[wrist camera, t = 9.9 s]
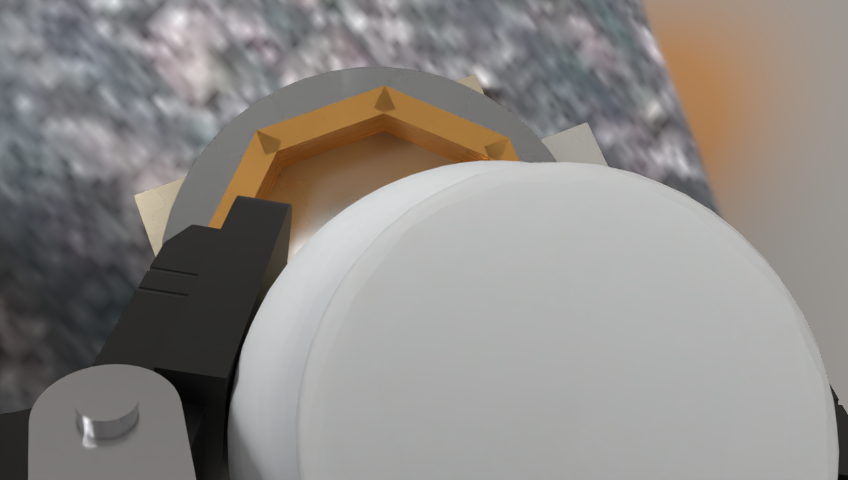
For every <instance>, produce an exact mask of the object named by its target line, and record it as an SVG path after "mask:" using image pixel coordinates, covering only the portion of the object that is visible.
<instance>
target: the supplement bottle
mask: <svg viewBox="0 0 848 480" xmlns="http://www.w3.org/2000/svg"><path fill="white" fill-rule="evenodd" d="M227 439H228V466H229V474H230V480H838V463H839V445H838V433H837V423H836V414H835V406H834V400H833V396H832V392H831V388H830V385H829V381H828V377H827V373H826V370H825V367H824V364H823V361H822V357H821V354H820V351H819V349H818V346H817V343H816V341H815V338H814V336H813V334H812V332H811V330H810V328H809V325H808V323H807V321H806V319H805V317H804V315H803V313H802V312H801V310H800V309H799V307H798V305H797V304H796V302H795V300H794V299H793V297H792V295H791V294H790V292H789V291H788V289H787V288H786V286H785V285H784V283H783V282H782V281H781V279H780V278H779V277H778V275H777V274H776V273H775V271H774V270H773V268H772V267H771V266H770V264H769V263H768V262H767V260H766V259H765V258H764V257H763V256H762V255H761V254H760V253H759V252H758V251H757V250H756V249H755V248H754V247H753V246H752V245H751V244H750V243H749V241H748V240H747V239H745V238H744V237H743V236H742V235H741V234H740V233H739V232H738V231H737V230H735V229H734V228H733V227H732V226H730V225H729V224H728V223H727V222H725V221H724V220H723V219H722V218H720V217H719V216H718V215H717V214H715V213H714V212H713V211H711V210H710V209H708V208H707V207H705V206H703V205H702V204H700V203H699V202H697V201H695V200H694V199H692V198H690V197H689V196H687V195H686V194H684V193H681V192H679V191H677V190H675V189H673V188H671V187H668V186H666V185H664V184H662V183H659V182H657V181H654V180H652V179H649V178H646V177H644V176H641V175H639V174H636V173H633V172H628V171H624V170H620V169H615V168H611V167H607V166H603V165H598V164H587V163H574V162H542V163H528V162H521V161H473V162H464V163H457V164H451V165H445V166H440V167H438V168H434V169H430V170H426V171H423V172H420V173H416V174H413V175H410V176H407V177H405V178H402V179H400V180H397V181H395V182H393V183H390V184H388V185H385V186H383V187H381V188H379V189H377V190H376V191H374V192H372V193H370V194H368V195H366V196H365V197H363V198H361V199H360V200H358V201H357V202H355V203H353V204H352V205H350V206H349V207H347V208H346V209H344V210H343V211H342V212H340V213H339V214H338V215H336V216H335V217H334V218H332V219H331V220H330V221H329V222H327V223H326V224H325V225H324V226H323V227H322V228H321V229H320V230H318V231H317V232H316V233H315V234H314V235H313V236H312V237H311V238H310V239H309V240H308V241H307V242H306V243H305V244H304V245H303V246H302V247H301V248H300V249H299V250H298V251H297V253H296V254H295V255H294V256H293V258H292V259H291V260H290V261H289V263H288V264H287V265H286V267H285V268H284V270H283V271H282V272H281V274H280V275H279V276H278V278H277V279H276V281H275V282H274V284H273V285H272V286H271V288H270V289H269V291H268V293H267V295H266V297H265V299H264V300H263V302H262V304H261V306H260V308H259V310H258V312H257V314H256V316H255V318H254V320H253V322H252V324H251V326H250V329H249V332H248V334H247V337H246V339H245V342H244V344H243V347H242V350H241V353H240V357H239V360H238V364H237V367H236V370H235V376H234V381H233V386H232V391H231V397H230V406H229V417H228V429H227Z"/></svg>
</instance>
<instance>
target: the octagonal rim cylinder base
mask: <svg viewBox="0 0 848 480" xmlns="http://www.w3.org/2000/svg"><path fill="white" fill-rule="evenodd" d="M473 161H521V162H528V163H542V162H574V163H587V164H598V165H603V166H607V167H608V165H607V163H606V161H605V159H604V157H603V155H602V153H601V151H600V148H599V146H598V144H597V142H596V140H595V138H594V136H593V134H592V132H591V129H590V127H589V125H588V123H584V124H581V125H578V126H576V127H573V128H570V129H568V130H565V131H562V132H560V133H557V134H554V135H552V136H549V137H546V138H544V139H541V140H540V139H539V138H538V137H537V136H536V135H535V134H534V133H533V132H532V131H531V129H530V128H529V127H527V126H526V125H525V124H524V123H523V122H522V121H520V120H519V119H518V118H517V117H516V116H514V115H513V114H512V113H511V112H510V111H509V110H507V109H506V108H504V107H503V106H501V105H499V104H498V103H496V102H495V101H493V100H492V99H490V98H489V97H487V96H486V95H484V93H483V91H482V88H481V86H480V84H479V82H478V80H477V77H476V75H472V76H469V77H467V78H464V79H461V80H458V81H452V80H449V79H447V78H444V77H441V76H438V75H434V74H430V73H425V72H421V71H416V70H411V69H402V68H391V67H357V68H350V69H344V70H337V71H330V72H327V73H323V74H319V75H316V76H312V77H308V78H305V79H302V80H300V81H297V82H295V83H293V84H290V85H288V86H285V87H283V88H281V89H278V90H277V91H275V92H273V93H271V94H270V95H268V96H266V97H264V98H263V99H261V100H259V101H257V102H256V103H254V104H253V105H252V106H250V107H249V108H248V109H246V110H245V111H243V112H242V113H241V114H239V115H238V116H237V117H235V118H234V119H233V120H232V121H231V122H230V123H229V124H228V125H227V126H226V127H225V128H224V129H223V130H222V131H221V132H220V133H218V134H217V135H216V136H215V137H214V138H213V140H212V141H211V142H210V143H209V145H208V146H207V147H206V148H205V150H204V151H203V152H202V153H201V155H200V156H199V157H198V158H197V160H196V161H195V163H194V165H193V166H192V168H191V170H190V171H189V173H188V175H187V176H186V177H184V178H181V179H178V180H176V181H173V182H170V183H167V184H164V185H162V186H159V187H156V188H153V189H150V190H147V191H145V192H142V193H139V194H136V195H134V197H135V200H136V203H137V206H138V209H139V211H140V214H141V217H142V220H143V223H144V226H145V229H146V231H147V234H148V237H149V240H150V243H151V246H152V249H153V251H154V254H155V257H156V256H157V254H158V253H159V251H160V249H161V247H162V246H163V244H164V242H166V241H167V240H169V239H170V238H172V237H173V236H175V235H176V234H178V233H180V232H181V231H183V230H184V229H186V228H187V227H189V226H190V225H192V224H194V225H200V226H206V227H212V228H218V229H221V227H222V225H223V223H224V221H225V219H226V217H227V215H228V213H229V210H230V208H231V206H232V204H233V202H234V200H235V198H236V197H237V196H238V195H240V196H246V197H252V198H258V199H264V200H270V201H276V202H282V203H288V204H291V205H292V220H291V230H290V240H289V250H288V260H287V264H288V263H289V261H290V260H291V259H292V258H293V256H294V255H295V254H296V253H297V251H298V250H299V249H300V248H301V247H302V246H303V245H304V244H305V243H306V242H307V241H308V240H309V239H310V238H311V237H312V236H313V235H314V234H315V233H316V232H317V231H318V230H320V229H321V228H322V227H323V226H324V225H325V224H326V223H327V222H329V221H330V220H331V219H332V218H334V217H335V216H336V215H338V214H339V213H340V212H342V211H343V210H344V209H346V208H347V207H349V206H350V205H352V204H353V203H355V202H357V201H358V200H360V199H361V198H363V197H365V196H366V195H368V194H370V193H372V192H374V191H376V190H377V189H379V188H381V187H383V186H385V185H388V184H390V183H393V182H395V181H397V180H400V179H402V178H405V177H407V176H410V175H413V174H416V173H420V172H423V171H426V170H430V169H434V168H438V167H440V166H445V165H451V164H457V163H464V162H473Z"/></svg>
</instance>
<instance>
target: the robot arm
mask: <svg viewBox="0 0 848 480" xmlns="http://www.w3.org/2000/svg"><path fill="white" fill-rule="evenodd" d="M291 220H292V205H291V204H288V203H282V202H276V201H270V200H264V199H258V198H252V197H246V196H240V195H238V196H237V197H236V198H235V200H234V202H233V204H232V206H231V208H230V210H229V213H228V215H227V217H226V219H225V221H224V223H223V225H222V227H221V229H218V228H212V227H206V226H200V225H194V224H192V225H190V226H189V227H187V228H186V229H184V230H183V231H181V232H180V233H178V234H176V235H175V236H173V237H172V238H170V239H169V240H167V241H166V242H164V244H163V246H162V247H161V249H160V251H159V253H158V254H157V256H156V258H155V259H154V261H153V263H152V265H151V266H150V271H147V273H146V275H145V277H144V278H143V280H142V282H141V283H140V285H139V289H138V292H135V294H134V295H133V297H132V299H131V301H130V302H129V304H128V306H127V307H126V309H125V311H124V313H123V314H122V316H121V318H120V319H119V321H118V323H117V325H116V326H115V328H114V330H113V331H112V333H111V335H110V337H109V338H108V340H107V342H106V343H105V345H104V347H103V349H102V350H101V352H100V354H99V355H98V357H97V359H96V361H95V362H94V364H93V366H92V367H89V368H86V369H82V370H79V371H76V372H74V373H71V374H69V375H67V376H65V377H63V378H61V379H59V380H58V381H56V382H55V383H53V384H52V385H51V386H49V387H48V388H47V389H46V390H45V391H44V392H43V393H42V394H41V395H40V396H39V398H38V399H37V401H36V402H35V404H34V405H33V408H30V409H26V410H22V411H18V412H13V413H6V414H0V480H230V474H229V466H228V439H227V429H228V417H229V406H230V397H231V391H232V386H233V381H234V376H235V370H236V367H237V364H238V360H239V357H240V353H241V350H242V347H243V344H244V342H245V339H246V337H247V334H248V332H249V329H250V326H251V324H252V322H253V320H254V318H255V316H256V314H257V312H258V310H259V308H260V306H261V304H262V302H263V300H264V299H265V297H266V295H267V293H268V291H269V289H270V288H271V286H272V285H273V284H274V282H275V281H276V279H277V278H278V276H279V275H280V274H281V272H282V271H283V270H284V268H285V267H286V265H287V260H288V250H289V240H290V230H291ZM829 385H830V384H829ZM830 388H831V392H832V396H833V400H834V406H835V414H836V423H837V433H838V445H839V463H838V480H848V415H847V413H846V411H845V409H844V408H843V406H842V405H838V400H839V399H838V398H837V396H836V394H835V392H834V390H833V389H832V387H831V385H830Z"/></svg>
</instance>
